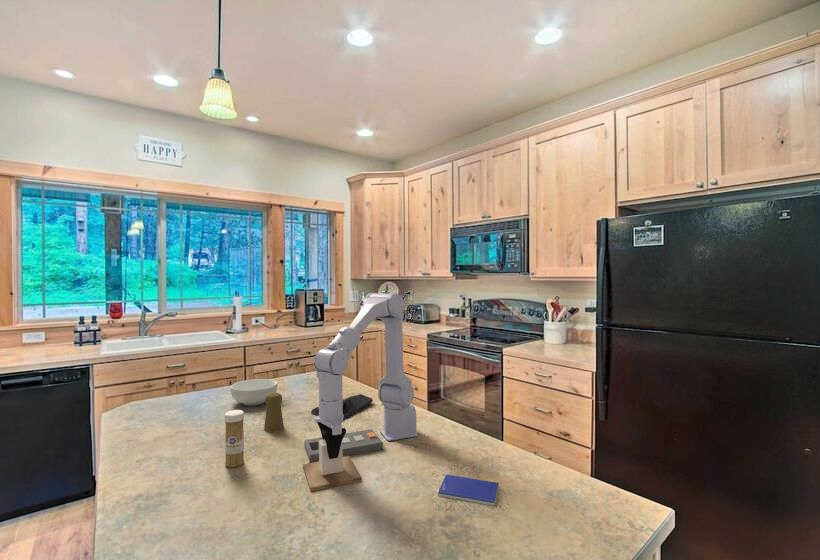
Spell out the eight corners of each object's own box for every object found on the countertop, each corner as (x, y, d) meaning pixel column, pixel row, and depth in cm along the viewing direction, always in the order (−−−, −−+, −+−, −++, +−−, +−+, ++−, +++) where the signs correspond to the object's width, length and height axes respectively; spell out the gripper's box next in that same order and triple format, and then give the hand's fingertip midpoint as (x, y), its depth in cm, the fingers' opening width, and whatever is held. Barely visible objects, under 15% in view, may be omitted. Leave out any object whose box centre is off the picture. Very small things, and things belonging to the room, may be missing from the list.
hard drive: (437, 491, 89) (494, 501, 85) (446, 473, 96) (498, 481, 92) (437, 498, 89) (494, 508, 85) (446, 479, 96) (498, 488, 93)
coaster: (349, 458, 106) (349, 455, 106) (361, 480, 95) (361, 477, 95) (303, 467, 102) (302, 464, 102) (310, 491, 91) (310, 487, 91)
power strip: (372, 435, 121) (372, 427, 121) (382, 449, 112) (382, 440, 112) (304, 447, 113) (304, 438, 113) (309, 462, 104) (309, 452, 104)
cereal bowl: (268, 409, 145) (267, 390, 144) (222, 409, 145) (222, 390, 145) (283, 395, 162) (283, 378, 161) (242, 395, 162) (242, 378, 162)
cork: (277, 432, 124) (277, 397, 124) (260, 431, 125) (259, 396, 125) (287, 425, 130) (287, 391, 130) (270, 424, 131) (270, 390, 131)
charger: (339, 464, 101) (338, 433, 101) (342, 471, 98) (342, 438, 98) (319, 468, 99) (318, 436, 99) (322, 475, 96) (321, 441, 96)
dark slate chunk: (379, 406, 150) (379, 393, 150) (336, 424, 132) (336, 410, 132) (349, 398, 158) (349, 386, 158) (305, 414, 140) (305, 401, 140)
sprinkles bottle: (225, 469, 101) (224, 416, 101) (225, 461, 105) (224, 410, 105) (244, 465, 103) (244, 413, 102) (244, 458, 107) (243, 408, 107)
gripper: (309, 391, 103) (310, 444, 103) (319, 409, 90) (319, 469, 90) (336, 388, 106) (337, 439, 106) (350, 405, 93) (350, 463, 93)
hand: (331, 453), depth 98 cm, fingers open, 5 cm apart
